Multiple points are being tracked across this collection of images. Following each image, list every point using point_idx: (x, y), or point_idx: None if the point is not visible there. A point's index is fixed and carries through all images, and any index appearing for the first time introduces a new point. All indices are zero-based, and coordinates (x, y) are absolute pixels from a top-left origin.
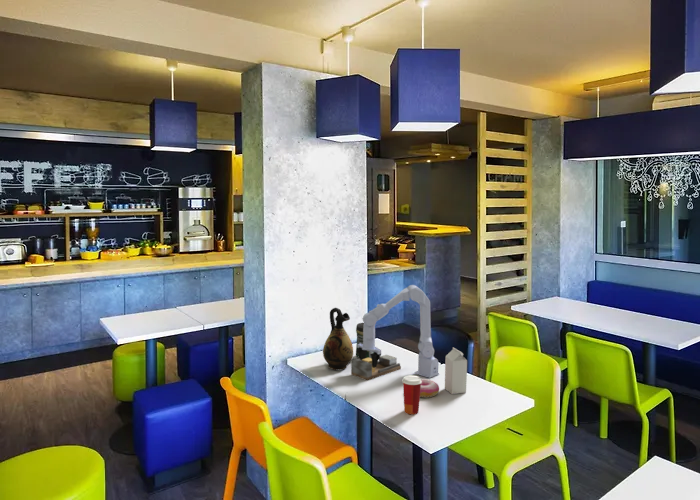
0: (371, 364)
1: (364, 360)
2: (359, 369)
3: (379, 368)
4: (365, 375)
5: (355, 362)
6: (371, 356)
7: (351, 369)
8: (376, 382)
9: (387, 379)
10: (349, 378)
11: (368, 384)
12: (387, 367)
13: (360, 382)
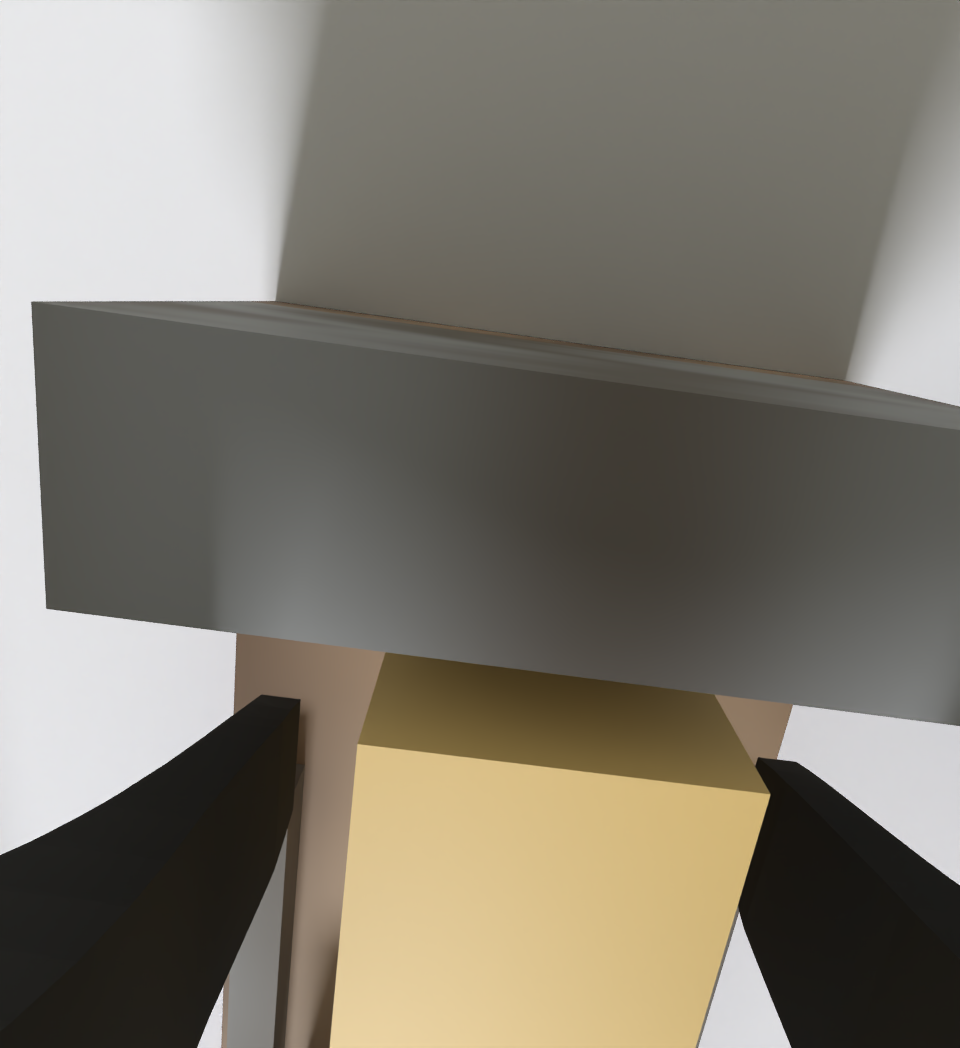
0: (62, 571)
1: (616, 768)
2: (579, 355)
3: None
4: (316, 312)
5: (883, 413)
6: (13, 972)
7: (916, 397)
8: None
9: (19, 655)
10: (739, 120)
11: (74, 92)
12: (247, 1033)
13: (323, 68)
